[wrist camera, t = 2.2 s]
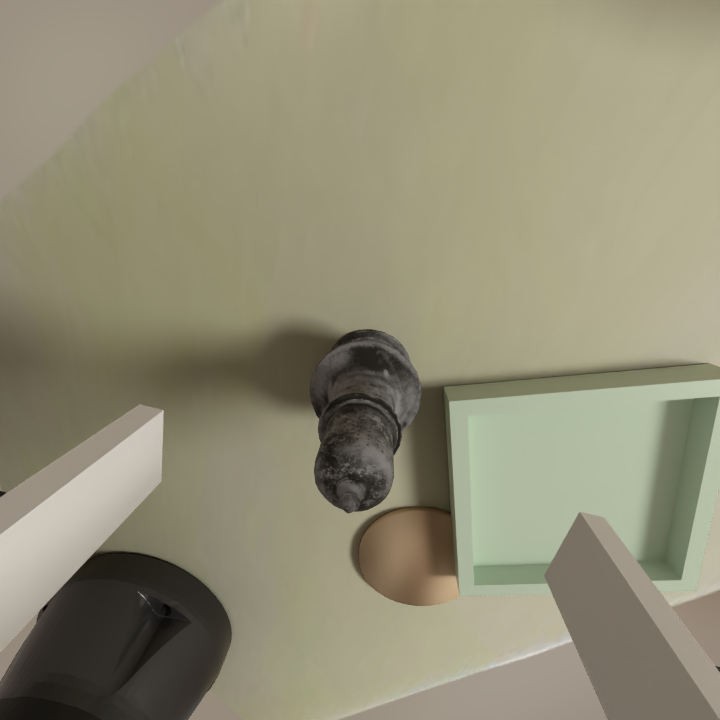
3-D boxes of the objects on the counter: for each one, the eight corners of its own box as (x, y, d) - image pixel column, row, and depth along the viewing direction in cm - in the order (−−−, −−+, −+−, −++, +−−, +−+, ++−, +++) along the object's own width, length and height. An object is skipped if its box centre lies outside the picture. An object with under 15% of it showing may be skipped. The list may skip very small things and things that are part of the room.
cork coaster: (366, 600, 28) (366, 606, 28) (351, 510, 26) (350, 515, 25) (482, 598, 27) (484, 604, 27) (479, 503, 25) (481, 508, 24)
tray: (454, 569, 27) (459, 596, 25) (443, 386, 22) (449, 401, 20) (671, 563, 25) (695, 591, 23) (710, 363, 20) (745, 377, 18)
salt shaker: (348, 426, 23) (311, 603, 12) (304, 349, 22) (215, 469, 11) (431, 391, 22) (477, 553, 11) (391, 307, 21) (395, 393, 9)
